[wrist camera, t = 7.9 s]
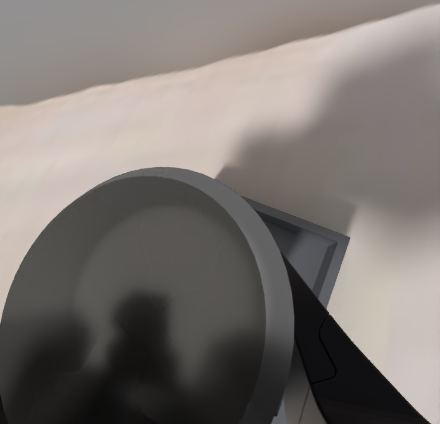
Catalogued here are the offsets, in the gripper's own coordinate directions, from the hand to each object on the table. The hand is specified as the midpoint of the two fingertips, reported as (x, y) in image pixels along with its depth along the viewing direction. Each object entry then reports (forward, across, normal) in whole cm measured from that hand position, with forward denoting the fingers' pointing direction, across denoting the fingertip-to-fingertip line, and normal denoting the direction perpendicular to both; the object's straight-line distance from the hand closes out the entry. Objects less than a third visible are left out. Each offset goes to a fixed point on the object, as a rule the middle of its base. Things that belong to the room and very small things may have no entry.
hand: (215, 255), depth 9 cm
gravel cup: (+4, 0, +6) cm, 7 cm away
